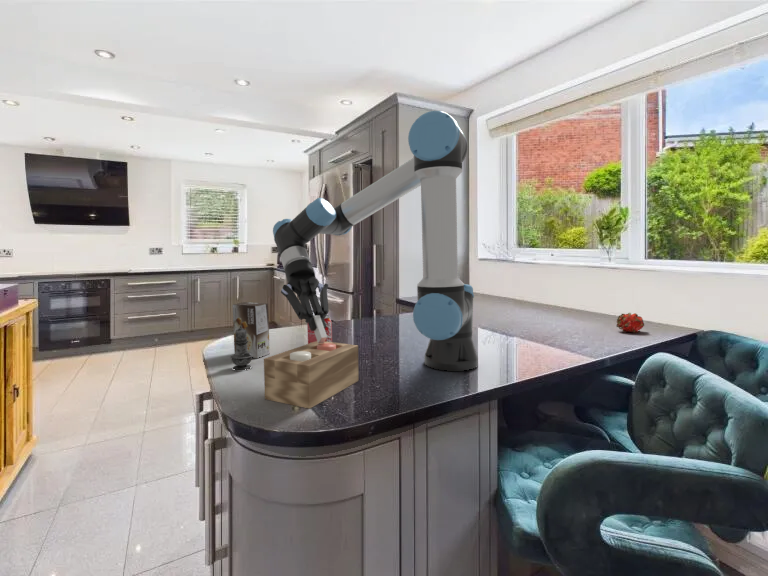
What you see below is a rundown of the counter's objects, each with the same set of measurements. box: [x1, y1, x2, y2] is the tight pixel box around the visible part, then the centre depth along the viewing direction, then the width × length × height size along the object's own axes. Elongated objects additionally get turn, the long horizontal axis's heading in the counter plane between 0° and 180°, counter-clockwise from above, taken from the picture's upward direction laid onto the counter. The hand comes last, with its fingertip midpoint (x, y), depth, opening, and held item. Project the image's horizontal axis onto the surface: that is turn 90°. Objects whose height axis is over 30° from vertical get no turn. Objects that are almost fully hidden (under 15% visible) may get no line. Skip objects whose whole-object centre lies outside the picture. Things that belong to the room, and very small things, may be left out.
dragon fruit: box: [616, 312, 645, 334], centre depth 163 cm, size 8×8×12 cm
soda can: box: [306, 314, 333, 344], centre depth 121 cm, size 7×7×13 cm
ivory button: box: [290, 351, 311, 362], centre depth 91 cm, size 5×5×4 cm
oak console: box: [263, 341, 359, 409], centre depth 95 cm, size 12×20×9 cm, turn 153°
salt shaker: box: [229, 325, 253, 371], centre depth 112 cm, size 6×6×12 cm
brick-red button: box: [317, 343, 336, 351], centre depth 100 cm, size 5×5×4 cm
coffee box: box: [232, 301, 271, 359], centre depth 126 cm, size 9×6×16 cm
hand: (322, 340), depth 100 cm, fingers closed
